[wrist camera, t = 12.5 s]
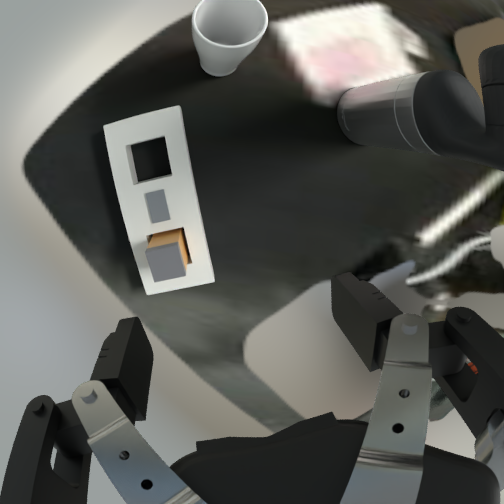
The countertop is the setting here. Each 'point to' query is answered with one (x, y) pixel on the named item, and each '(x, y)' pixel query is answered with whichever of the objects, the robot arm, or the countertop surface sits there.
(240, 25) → the drinking glass
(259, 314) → the countertop surface
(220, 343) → the countertop surface
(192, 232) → the pdu strip
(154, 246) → the plug
